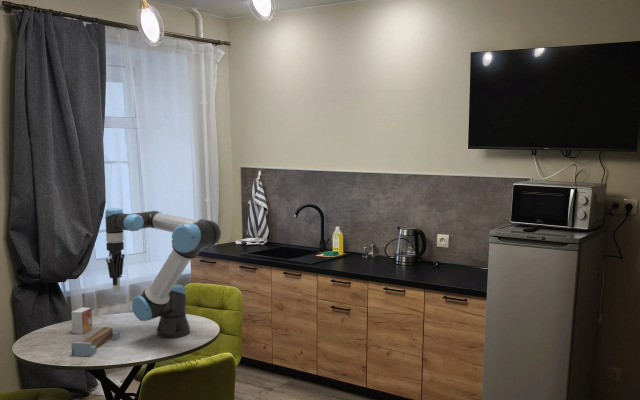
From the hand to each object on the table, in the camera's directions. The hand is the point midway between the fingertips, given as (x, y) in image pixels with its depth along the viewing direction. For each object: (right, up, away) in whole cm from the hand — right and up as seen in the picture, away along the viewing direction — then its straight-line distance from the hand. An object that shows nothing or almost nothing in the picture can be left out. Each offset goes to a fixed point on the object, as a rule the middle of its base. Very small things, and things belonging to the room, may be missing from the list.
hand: (116, 291), depth 262 cm
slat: (-3, -22, -15) cm, 27 cm away
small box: (-18, -20, +5) cm, 27 cm away
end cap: (-4, -22, -26) cm, 34 cm away
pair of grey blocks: (-1, -21, -6) cm, 21 cm away
